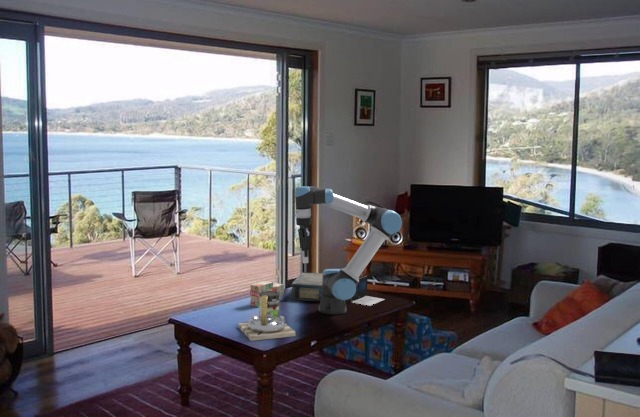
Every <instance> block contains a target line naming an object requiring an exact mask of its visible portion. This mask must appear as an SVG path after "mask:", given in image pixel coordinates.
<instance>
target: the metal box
mask: <svg viewBox="0 0 640 417" xmlns="http://www.w3.org/2000/svg"><path fill="white" fill-rule="evenodd" d="M322 275H323V272H301V273H300V274H299V275H298V277H297V278H295V279H294V280H293V281H292V282H291V300H292V301H294V300H295V301H310V302H320V301H321V299H322Z"/></svg>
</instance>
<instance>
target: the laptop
mask: <svg viewBox="0 0 640 417" xmlns="http://www.w3.org/2000/svg"><path fill="white" fill-rule="evenodd" d="M385 300H386V299H385V298H380V297H376V296H375V297H374V296H369V295H368V275H364V276H362V277H359V283H358V284H357V285H356V292H355V294H354V296H353V297H352V298H350V303H351V304H354V303H355V305H359V304H361V305H360V306H366V305H367V306H366V307H371V306H374V305H375V304H378V303H380V302H382V301H385ZM373 304H374V305H373Z"/></svg>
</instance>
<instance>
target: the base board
mask: <svg viewBox="0 0 640 417" xmlns="http://www.w3.org/2000/svg"><path fill="white" fill-rule="evenodd" d="M238 328H239V329H240V331H241V332H242V333H243V334H244V335H245V336H246V337H247V338H248V340H249V341H250V342H252V341H261V340H262V341H263V340H271V339H282V338H289V337H290V338H291V337H296V331H295V330H294V329H293V328H292V327H291V326H289V325H288V324H287V323H286V322H285V329H284V330H282V331H279V332H274V333H259V332H254V331H251V330H249V329H248V322H242V323H241V322H239V323H238Z"/></svg>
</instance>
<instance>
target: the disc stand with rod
mask: <svg viewBox="0 0 640 417" xmlns="http://www.w3.org/2000/svg"><path fill="white" fill-rule="evenodd" d="M247 323H248V329H249V330H251V331H254V332H259V333H274V332H279V331H282V330H284V329H285V323H286V320H285V316H284V315H279V317H275V316H273V313H268V314H267V296H266V295H262V296H261V316H259V315H258V314H252V315H251V318H249V319H248V320H247Z"/></svg>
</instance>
